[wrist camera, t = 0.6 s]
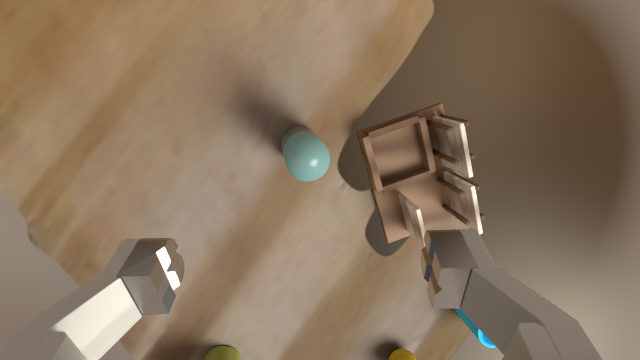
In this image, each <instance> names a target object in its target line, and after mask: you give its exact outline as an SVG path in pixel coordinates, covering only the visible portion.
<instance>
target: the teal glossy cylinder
mask: <svg viewBox="0 0 640 360" xmlns="http://www.w3.org/2000/svg"><path fill="white" fill-rule="evenodd" d="M281 149H282V152H283V155H284V159H285V162H286V165H287V168H288V170H289V172H290V173H291V175H292V176H294V177H295V178H296V179H298V180H301V181H314V180H316V179H318V178H320V177H321V176H323V175H324V174H325V172H326V171H327V169H328V167H329V164H330V154H329V151H328V149H327V147H326V146H325V145H324V144H323V143H322V142H321V140H320V139H319V138H318V137H317V136H316V135H315V134H314V133H313V132H312V131H311V130H310V129H308V128H306V127H301V126H298V127H293V128H291V129H289V130H288V131H287V132H286V133H285V134H284V136H283V138H282V141H281Z"/></svg>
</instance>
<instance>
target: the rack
mask: <svg viewBox="0 0 640 360" xmlns="http://www.w3.org/2000/svg"><path fill="white" fill-rule="evenodd" d="M468 125H469V121H468V120H464V119H460V118H456V117H451V116H447V115H445V114H444V109H443V104H441V103H438V104H436V105H433V106H430V107H427V108H424V109H421V110H418V111H415V112H413V113H410V114H407V115H404V116H401V117H398V118H395V119H392V120H389V121H386V122H384V123H381V124H378V125H375V126H372V127H369V128H366V129H363V130H361V131H358V132H357V136H358V139H359V143H360V147H361V150H362V154H363V157H364V161H365V165H366V168H367V172H368V175H369V178H370V183H371V186H372V190H373V194H374V197H375V201H376V204H377V208H378V211H379V215H380V218H381V222H382V226H383V230H384V233H385V237H386V240H387V242H388V243H391V242H393V241H396V240H399V239H401V238H404V237H407V236H410V235H412V236H413V237H414V238H415V239H416V241H417V242H418V243H419V244H420V245H421V246H422V247H423V248H424V247H425V243H424V240H423V239H424V234H425V230H426V229H429V228H431V227H434V226H437V225H439V224H442V223H445V222H447V221H450V220H453V219H456V218H457V219H459V220H460V221H461V222H463V223H464V224H465V225H467V226H468V227H469V228H471V229H475V230H476V231H477V232H478V234H479V235H480V234H482V233H483V231H482V225H481V219H484V218H485V215H484V214H482V213H480V212H479V208H478V202H477V196H476V190H479V189H480V186H479V185H477V184H476V183H474V182H472V181H470V180H468V179H466V178H464V177H462V176H460V175H458V174H456V172H455V171H457V172H459V173H461V174H463V175H465V176H467V177H469V178H470V177H473V173H472V167H471V161H470V159H474V158H475V155H474V154H472V153H470V152H469V149H468V144H467V138H466V132H465V126H468Z"/></svg>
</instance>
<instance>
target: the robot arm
mask: <svg viewBox="0 0 640 360" xmlns="http://www.w3.org/2000/svg"><path fill="white" fill-rule="evenodd" d="M423 240H424V243H425V247H424V248H423V249H422V252H421V268H422V273H423V277H424V279H425V280H426V281H428V282H429V284H428V290H427V291H428V294H429V297H430V301H431V304H432V307H433V308H461V311H462V312H463V313H464V314H465V315H466V316H467V317H468V318H469V319H470V320H471V321H472V322H473V323H474V324H475V325H476V326H477V327H478V328H479V329H480V330H481V331H482V333H483V334H484V335H485V336H486V337H487V338H488V339H489V340H490V341H491V342H492V343H493V344H494V345H495V346H496V347H497V348H498V349H499V350H500V351H501V352H502V353H503V354H504V357H503V359H502V360H602V358H601V357H600V355H599V354H598V352H597V351H596V349H595V347H594V346H593V344H592V343H591V341H590V340H589V338H588V337H587V335H586V333H585V332H584V331H583V329H582V327H581V326H580V324H579V323H578V321H577V320H575V319H574V318H573V317H571V316H570V315H568V314H567V313H565V312H564V311H562V310H561V309H560V308H558V307H557V306H555V305H554V304H552V303H551V302H550V301H548V300H547V299H545V298H544V297H542V296H541V295H539V294H538V293H536V292H535V291H534V290H532V289H531V288H529V287H528V286H526V285H525V284H523V283H522V282H521V281H519V280H518V279H516V278H515V277H513V276H512V275H510V274H509V273H508V272H506V271H505V270H503V269H502V268H496V267H495V265H494V263H493V261H492V259H491V257H490V255H489V253H488V251H487V250H486V248H485V246H484V244H483V242H482V240H481V238H480V236H479V234H478V232H477V231H476V230H475V229H458V230H431V231H426V232H425V234H424V239H423ZM177 247H178V246H177V244H176V242H175V239H171V238H142V239H126V240H124V241H123V242H122V243H121V245H120V246H119V248H118V249H117V251H116V252H115V254H114V255H113V257H112V258H111V260H110V261H109V263H108V264H107V266H106V267H105V269H104V270H103V272H102V273H101V275H100V276H99V278H93V279H92V280H90V281H89V282H87V283H86V284H84V285H83V286H81V287H80V288H78V289H77V290H75V291H74V292H72V293H71V294H69V295H68V296H66V297H65V298H63V299H62V300H61V301H59V302H57V303H56V304H54V305H53V306H51V307H50V308H48V309H47V310H45V311H44V312H42V313H41V314H39V315H38V316H36V317H35V318H33V319H32V320H31V321H29V322H27V323H26V324H25V325H23V326H21V327H20V328H19V329H17V330H15V332H14V333H13V334H12V335H11V336H10V338H9V339H8V340H7V341H6V343H5V344H4V345H3V347H2V348H1V349H0V360H99V359H100V358H101V357H102V356H103V355H104V354H105V353H106V352H107V351H108V350H109V349H110V348H111V347H112V346H113V345H114V344H115V343H116V342H117V341H118V340H119V339H120V338H121V337H122V336H123V335H124V334H125V333H126V332H127V331H128V330H129V329H130V328H131V327H132V326H133V325H134V324H135V323H136V322H137V321H138V320H139V319H140V318H141V317H142V315H154V314H168V313H169V311H170V309H171V306H172V304H173V301H174V299H175V293H174V291H173V290H174V289H176V288H177V287H178V286H179V285H180V284H181V282H182V279H183V275H184V261H183V259H182V256H181V255H179V254H178V253H176V252H175V251H176V249H177Z"/></svg>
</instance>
